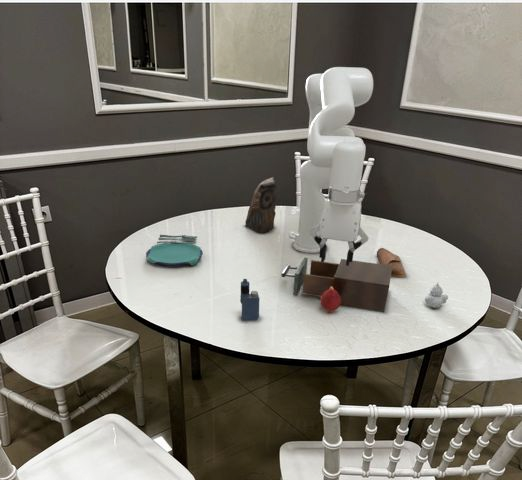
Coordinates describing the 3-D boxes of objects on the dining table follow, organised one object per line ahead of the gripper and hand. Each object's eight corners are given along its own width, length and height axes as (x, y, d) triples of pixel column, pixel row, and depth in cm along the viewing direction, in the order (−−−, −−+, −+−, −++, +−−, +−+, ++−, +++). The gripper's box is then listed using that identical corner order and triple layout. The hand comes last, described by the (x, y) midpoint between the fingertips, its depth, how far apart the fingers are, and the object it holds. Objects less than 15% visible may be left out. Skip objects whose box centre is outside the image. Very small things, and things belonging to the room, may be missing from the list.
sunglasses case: (407, 276, 159) (400, 259, 156) (387, 284, 161) (380, 268, 158) (399, 256, 174) (392, 240, 171) (380, 264, 176) (374, 249, 173)
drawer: (277, 292, 145) (278, 271, 141) (288, 274, 156) (289, 255, 152) (340, 301, 140) (343, 280, 137) (346, 283, 151) (349, 263, 148)
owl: (272, 223, 203) (274, 175, 192) (283, 232, 193) (286, 182, 182) (244, 225, 199) (245, 176, 188) (254, 235, 189) (255, 184, 178)
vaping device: (240, 316, 133) (240, 277, 126) (258, 316, 133) (259, 277, 127) (240, 321, 131) (240, 281, 124) (259, 320, 131) (260, 281, 125)
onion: (341, 310, 138) (345, 285, 134) (335, 318, 134) (339, 293, 129) (322, 305, 140) (325, 281, 136) (316, 313, 136) (319, 288, 131)
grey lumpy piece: (421, 301, 144) (427, 277, 140) (442, 302, 144) (449, 278, 140) (426, 310, 140) (432, 285, 135) (448, 311, 140) (455, 286, 135)
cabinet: (330, 304, 141) (334, 277, 136) (338, 284, 153) (341, 258, 148) (384, 312, 138) (389, 285, 133) (387, 291, 150) (392, 265, 145)
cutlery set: (141, 268, 159) (141, 262, 157) (155, 237, 184) (154, 232, 182) (201, 269, 160) (200, 263, 158) (206, 238, 185) (206, 233, 183)
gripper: (379, 195, 120) (368, 261, 130) (312, 188, 124) (307, 253, 133) (377, 203, 114) (365, 272, 124) (307, 195, 118) (301, 263, 127)
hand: (335, 261), depth 128 cm, fingers open, 6 cm apart
